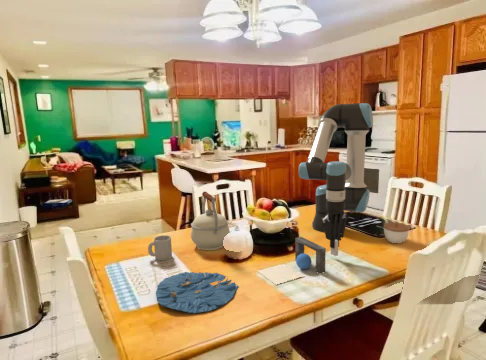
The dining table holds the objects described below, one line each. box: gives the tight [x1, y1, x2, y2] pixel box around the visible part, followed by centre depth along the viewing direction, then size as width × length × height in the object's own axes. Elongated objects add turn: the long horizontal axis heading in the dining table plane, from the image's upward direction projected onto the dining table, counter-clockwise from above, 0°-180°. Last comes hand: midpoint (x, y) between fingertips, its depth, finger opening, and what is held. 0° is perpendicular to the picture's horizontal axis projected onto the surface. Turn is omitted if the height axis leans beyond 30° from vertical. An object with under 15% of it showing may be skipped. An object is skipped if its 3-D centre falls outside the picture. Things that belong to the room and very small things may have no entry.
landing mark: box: [257, 263, 305, 286], centre depth 130 cm, size 13×13×1 cm
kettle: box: [190, 191, 231, 251], centre depth 161 cm, size 25×18×25 cm
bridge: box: [294, 236, 327, 274], centre depth 136 cm, size 3×15×10 cm, turn 28°
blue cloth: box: [155, 271, 240, 314], centre depth 119 cm, size 30×30×5 cm
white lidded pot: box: [383, 221, 410, 244], centre depth 159 cm, size 11×11×9 cm
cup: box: [147, 234, 173, 261], centre depth 148 cm, size 7×10×9 cm
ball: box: [295, 252, 312, 270], centre depth 134 cm, size 6×6×6 cm
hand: (334, 254), depth 142 cm, fingers closed
